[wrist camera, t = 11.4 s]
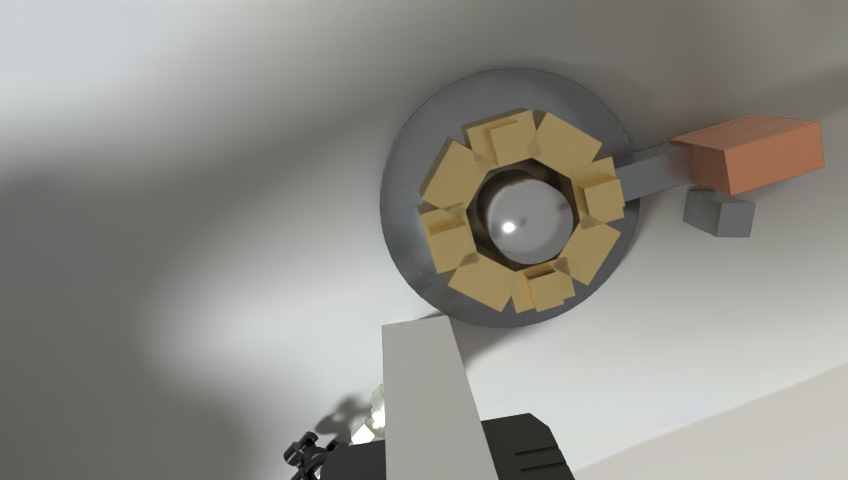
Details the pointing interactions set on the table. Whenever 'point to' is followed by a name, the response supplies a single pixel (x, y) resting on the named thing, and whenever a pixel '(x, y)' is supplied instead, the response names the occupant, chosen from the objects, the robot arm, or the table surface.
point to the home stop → (719, 213)
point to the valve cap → (497, 189)
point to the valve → (317, 456)
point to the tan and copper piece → (589, 191)
